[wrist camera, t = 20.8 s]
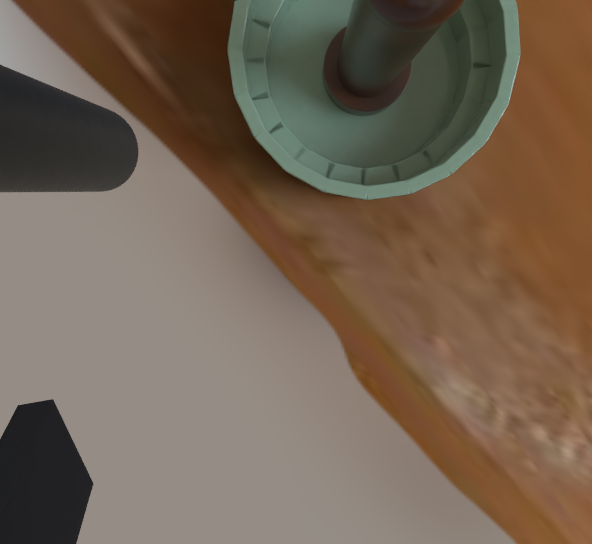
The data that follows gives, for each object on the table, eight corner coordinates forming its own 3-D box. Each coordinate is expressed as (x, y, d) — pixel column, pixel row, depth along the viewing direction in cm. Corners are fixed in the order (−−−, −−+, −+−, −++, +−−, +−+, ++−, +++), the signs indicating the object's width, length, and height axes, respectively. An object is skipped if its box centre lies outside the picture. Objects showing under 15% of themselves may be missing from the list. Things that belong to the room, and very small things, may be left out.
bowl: (259, 211, 35) (250, 215, 29) (223, -38, 32) (207, -84, 27) (493, 180, 34) (528, 178, 29) (474, -76, 32) (509, -130, 26)
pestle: (327, 121, 33) (354, 46, 16) (317, 36, 32) (334, -140, 15) (409, 110, 33) (524, 22, 16) (400, 24, 32) (513, -168, 15)
